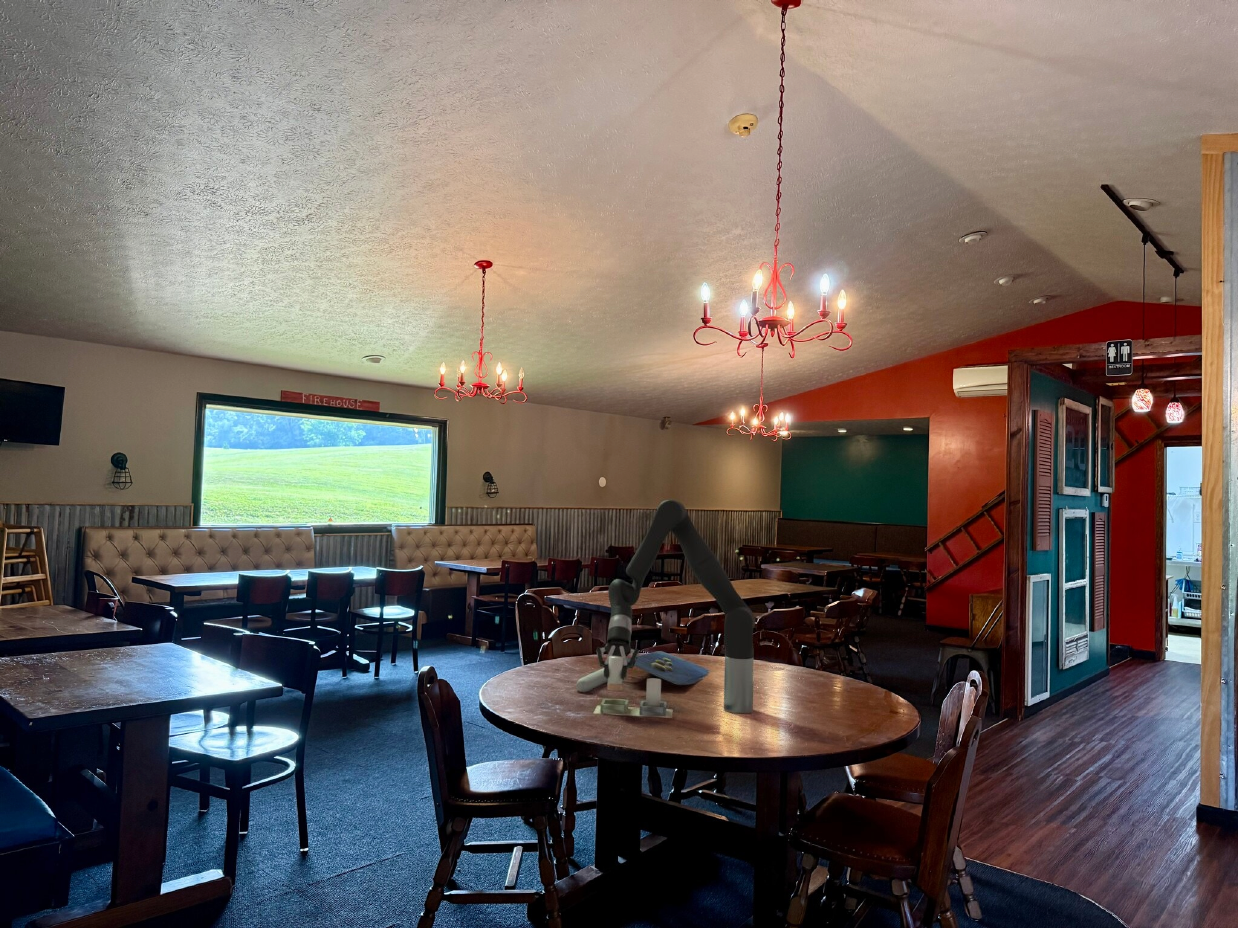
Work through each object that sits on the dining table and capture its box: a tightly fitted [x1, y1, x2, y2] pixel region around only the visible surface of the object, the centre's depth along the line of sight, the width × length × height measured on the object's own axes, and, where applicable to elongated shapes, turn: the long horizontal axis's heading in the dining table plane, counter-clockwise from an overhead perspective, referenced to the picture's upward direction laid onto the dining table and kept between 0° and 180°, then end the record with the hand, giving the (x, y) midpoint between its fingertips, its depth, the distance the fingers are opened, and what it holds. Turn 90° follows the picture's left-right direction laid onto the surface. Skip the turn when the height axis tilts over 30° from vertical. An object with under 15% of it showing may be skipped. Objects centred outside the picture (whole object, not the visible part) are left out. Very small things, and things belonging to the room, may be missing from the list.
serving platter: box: [626, 650, 710, 686], centre depth 310 cm, size 45×27×12 cm, turn 159°
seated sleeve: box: [645, 677, 662, 707], centre depth 251 cm, size 5×5×10 cm
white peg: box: [607, 656, 623, 692], centre depth 252 cm, size 5×5×10 cm
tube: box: [576, 667, 608, 693], centre depth 292 cm, size 5×5×25 cm
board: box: [593, 698, 674, 719], centre depth 251 cm, size 24×10×4 cm, turn 85°
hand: (614, 677), depth 250 cm, fingers closed on white peg, 4 cm apart
